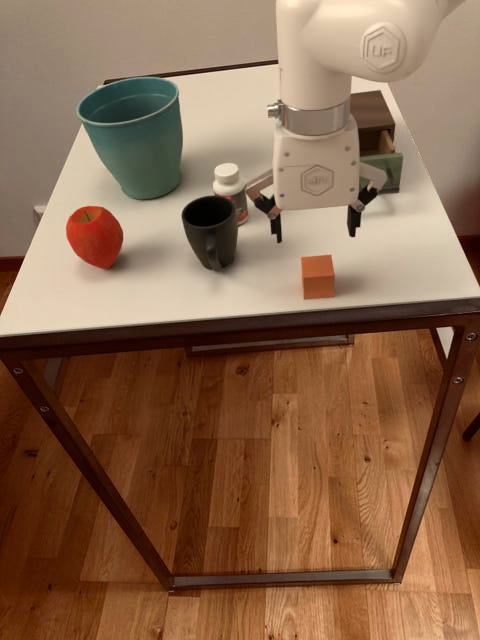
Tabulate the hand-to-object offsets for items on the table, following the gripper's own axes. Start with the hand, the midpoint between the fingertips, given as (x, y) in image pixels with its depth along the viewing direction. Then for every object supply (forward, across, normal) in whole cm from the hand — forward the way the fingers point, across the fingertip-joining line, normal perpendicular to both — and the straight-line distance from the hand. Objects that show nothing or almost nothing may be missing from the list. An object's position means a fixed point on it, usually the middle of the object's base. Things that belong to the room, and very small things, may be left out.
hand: (314, 233), depth 68 cm
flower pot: (+11, -29, +33) cm, 45 cm away
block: (+10, 0, 0) cm, 10 cm away
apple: (+11, -34, +9) cm, 37 cm away
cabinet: (+10, +11, +37) cm, 40 cm away
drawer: (+9, +11, +25) cm, 29 cm away
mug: (+10, -15, +6) cm, 19 cm away
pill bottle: (+11, -12, +19) cm, 25 cm away
